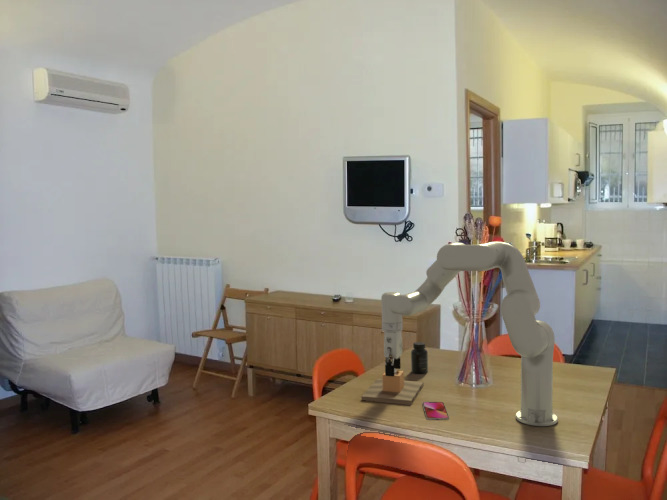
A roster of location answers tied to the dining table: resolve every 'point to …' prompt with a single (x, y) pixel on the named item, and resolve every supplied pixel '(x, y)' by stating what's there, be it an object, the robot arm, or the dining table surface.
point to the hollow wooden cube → (393, 382)
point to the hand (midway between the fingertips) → (393, 372)
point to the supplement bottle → (419, 358)
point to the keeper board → (393, 393)
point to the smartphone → (435, 411)
